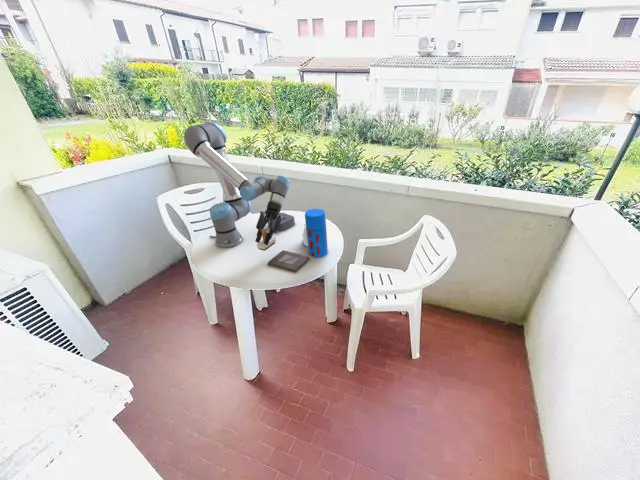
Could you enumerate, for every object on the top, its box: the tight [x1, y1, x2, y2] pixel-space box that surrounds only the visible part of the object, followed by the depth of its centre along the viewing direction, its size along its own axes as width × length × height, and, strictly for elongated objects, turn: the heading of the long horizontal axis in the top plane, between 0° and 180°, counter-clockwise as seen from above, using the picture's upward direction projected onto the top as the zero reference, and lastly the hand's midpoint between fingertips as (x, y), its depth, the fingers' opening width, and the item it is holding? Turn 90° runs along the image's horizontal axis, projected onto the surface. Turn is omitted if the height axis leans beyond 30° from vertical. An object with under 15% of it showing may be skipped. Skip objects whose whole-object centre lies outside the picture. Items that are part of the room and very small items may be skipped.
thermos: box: [304, 208, 328, 258], centre depth 157 cm, size 11×11×25 cm
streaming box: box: [267, 212, 296, 232], centre depth 192 cm, size 14×14×5 cm
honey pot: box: [302, 222, 308, 247], centre depth 169 cm, size 13×13×18 cm
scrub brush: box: [256, 228, 277, 252], centre depth 153 cm, size 10×5×10 cm, turn 156°
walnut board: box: [267, 249, 310, 273], centre depth 155 cm, size 18×14×2 cm
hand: (261, 243), depth 151 cm, fingers closed on scrub brush, 5 cm apart
